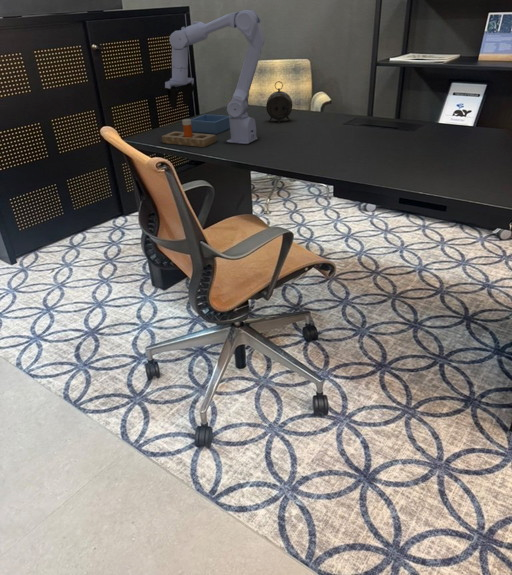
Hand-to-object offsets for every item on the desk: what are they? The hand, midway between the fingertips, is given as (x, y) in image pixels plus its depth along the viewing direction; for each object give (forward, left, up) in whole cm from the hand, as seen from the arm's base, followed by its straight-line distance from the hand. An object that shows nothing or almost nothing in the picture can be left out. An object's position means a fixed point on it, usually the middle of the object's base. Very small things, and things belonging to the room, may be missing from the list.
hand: (179, 106), depth 189 cm
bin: (+1, -19, -13) cm, 23 cm away
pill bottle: (-3, +1, -13) cm, 14 cm away
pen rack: (-3, +1, -13) cm, 14 cm away
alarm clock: (-21, -39, -13) cm, 47 cm away
